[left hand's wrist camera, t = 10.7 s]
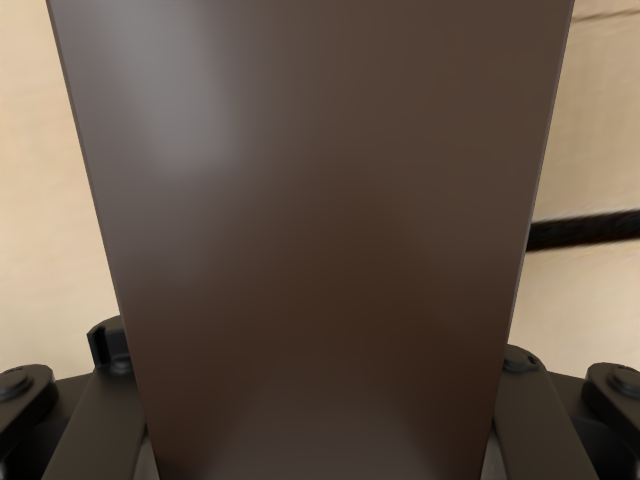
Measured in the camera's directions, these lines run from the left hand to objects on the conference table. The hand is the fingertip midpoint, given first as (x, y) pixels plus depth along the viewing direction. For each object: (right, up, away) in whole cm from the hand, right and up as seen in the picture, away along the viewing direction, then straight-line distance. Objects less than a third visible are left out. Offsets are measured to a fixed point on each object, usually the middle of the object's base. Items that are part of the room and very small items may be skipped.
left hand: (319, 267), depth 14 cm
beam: (0, +10, -3) cm, 11 cm away
